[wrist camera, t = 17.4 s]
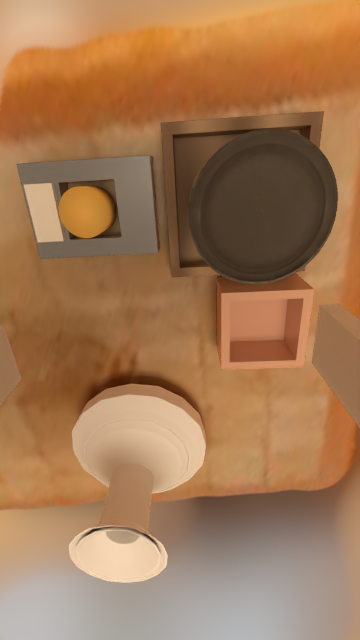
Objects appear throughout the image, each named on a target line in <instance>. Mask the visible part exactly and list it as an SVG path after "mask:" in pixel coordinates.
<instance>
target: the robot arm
mask: <svg viewBox="0 0 360 640" xmlns="http://www.w3.org/2000/svg"><path fill="white" fill-rule="evenodd" d="M312 364H313V365H314V366H315V368H316V369H317V371H318V372H319V373H320V375H321V376H322V377H323V379H324V380H325V381H326V383H327V384H328V386H329V387H330V388H331V390H332V391H333V392H334V394H335V395H336V396H337V398H338V399H339V401H340V402H341V403H342V405H343V406H344V407H345V409H346V410H347V411H348V413H349V414H350V416H351V417H352V418H353V420H354V421H355V422H356V424H357V425H358V426H359V428H360V320H359V319H358V318H356V317H355V316H354V315H352V314H351V313H350V312H348V311H347V310H346V309H344V308H343V307H342V306H340V305H339V304H331V305H319V313H318V320H317V328H316V335H315V343H314V350H313V358H312ZM21 379H22V378H21V375H20V372H19V369H18V366H17V363H16V361H15V358H14V355H13V352H12V349H11V346H10V343H9V340H8V337H7V334H6V331H5V328H4V325H3V324H2V325H0V405H1V404H2V403H3V401H4V400H5V399H6V398H7V396H8V395H9V394H10V393H11V392H12V390H13V389H14V388H15V387H16V385H17V384H18V383H19V382H20V380H21Z"/></svg>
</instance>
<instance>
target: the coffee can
mask: <svg viewBox="0 0 360 640" xmlns="http://www.w3.org/2000/svg"><path fill="white" fill-rule="evenodd" d="M337 201H338V192H337V184H336V179H335V175H334V172H333V170H332V167H331V165H330V163H329V161H328V160H327V158H326V157H325V155H324V154H323V153H322V151H321V150H320V149H319V148H318V147H317V146H316V145H315V144H313V143H312V142H311V141H310V140H308V139H307V138H305V137H304V136H302V135H299V134H297V133H295V132H291V131H288V130H282V129H260V130H255V131H251V132H248V133H245V134H243V135H240V136H238V137H236V138H234V139H233V140H231V141H229V142H228V143H227V144H225V145H224V146H223V147H221V148H220V149H219V150H218V151H217V152H216V153H215V154H214V155H213V156H212V157H211V158H210V159H209V160H208V162H207V163H206V164H205V165H204V166H203V167H202V168H201V169H200V171H199V172H198V174H197V176H196V177H195V180H194V182H193V185H192V188H191V192H190V199H189V228H190V232H191V236H192V240H193V242H194V245H195V247H196V249H197V251H198V253H199V254H200V256H201V257H202V259H203V260H204V261H205V262H206V263H207V265H208V266H210V267H211V268H212V269H213V270H214V271H215V272H217V273H218V274H220V275H221V276H223V277H225V278H227V279H229V280H232V281H235V282H239V283H244V284H266V283H271V282H276V281H279V280H281V279H284V278H286V277H288V276H290V275H292V274H294V273H295V272H297V271H299V270H300V269H302V268H303V267H304V266H306V265H307V264H308V263H309V262H310V261H311V260H312V259H313V258H314V257H315V256H316V255H317V253H318V252H319V251H320V250H321V248H322V247H323V245H324V244H325V242H326V240H327V238H328V236H329V235H330V232H331V230H332V227H333V224H334V221H335V217H336V211H337Z"/></svg>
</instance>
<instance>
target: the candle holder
mask: <svg viewBox="0 0 360 640" xmlns="http://www.w3.org/2000/svg"><path fill="white" fill-rule="evenodd" d="M72 441H73V451H74V453H75V455H76V457H77V459H78V460H79V462H80V464H81V466H82V468H83V469H84V470H85V471H87V472H88V473H89V474H91V475H92V476H93V477H95V478H96V479H97V480H99V481H100V482H101V483H103V484H104V485H106V486H108V487H109V489H108V493H107V496H106V500H105V504H104V508H103V512H102V516H101V520H100V523H99V525H96V526H94V527H91V528H89V529H87V530H86V531H84V532H82V533H80V534H78V535H76V536H75V538H74V539H73V540H72V542H71V543H70V545H69V552H70V557H71V559H72V560H73V562H74V563H75V565H76V566H77V567H78V568H79V569H81V570H83V571H84V572H86V573H88V574H89V575H91V576H94V577H97V578H100V579H103V580H106V581H112V582H124V583H129V582H138V581H145V580H147V579H149V578H151V577H154V576H156V575H158V573H160V572H161V571H162V570H163V569H164V568H165V567H166V565H167V557H168V556H167V553H166V551H165V549H164V547H163V544H162V543H160V542H159V541H158V540H157V539H156V538H154V537H153V536H152V535H151V534H150V533H149V532H148V531H147V530H148V523H149V514H150V504H151V497H152V494H153V493H159V492H164V491H167V490H171V489H173V488H175V487H177V486H178V485H180V484H182V483H184V482H186V481H188V480H189V479H190V478H191V477H192V476H193V475H194V474H195V473H196V472H197V470H198V469H199V468H200V467H201V466H202V465H203V461H204V455H205V449H206V436H205V431H204V427H203V424H202V421H201V418H200V414H199V413H198V412H197V411H196V410H195V409H194V408H193V407H192V406H191V405H190V404H189V403H188V402H187V401H186V400H185V399H184V398H182V397H180V396H178V395H176V394H174V393H172V392H170V391H168V390H166V389H164V388H162V387H160V386H152V385H141V384H127V385H122V386H117V387H113V388H108V389H105V390H104V391H102V392H101V393H99V394H98V395H97V396H95V397H94V398H93V399H91V400H90V401H88V402H87V404H86V405H85V407H84V409H83V411H82V412H81V414H80V416H79V418H78V419H77V421H76V424H75V426H74V428H73V430H72Z"/></svg>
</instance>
